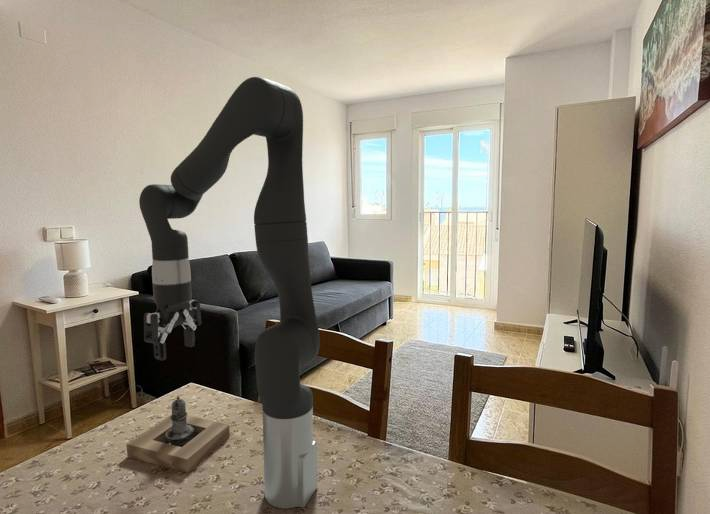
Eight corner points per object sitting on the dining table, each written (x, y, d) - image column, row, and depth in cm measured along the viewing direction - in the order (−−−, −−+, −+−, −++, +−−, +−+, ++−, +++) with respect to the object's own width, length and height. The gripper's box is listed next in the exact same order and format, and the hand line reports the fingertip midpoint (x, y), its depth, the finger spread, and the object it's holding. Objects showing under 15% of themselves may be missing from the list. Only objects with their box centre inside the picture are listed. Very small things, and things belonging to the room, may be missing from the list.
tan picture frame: (229, 436, 98) (229, 424, 97) (187, 473, 84) (187, 459, 84) (174, 424, 103) (174, 412, 102) (127, 456, 90) (126, 443, 89)
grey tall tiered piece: (199, 440, 96) (197, 390, 94) (186, 455, 90) (184, 403, 89) (175, 438, 97) (172, 389, 95) (161, 453, 91) (157, 401, 89)
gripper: (160, 287, 81) (165, 367, 83) (208, 275, 94) (211, 344, 96) (130, 284, 83) (136, 362, 85) (181, 273, 96) (185, 340, 98)
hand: (176, 352), depth 91 cm, fingers open, 8 cm apart
